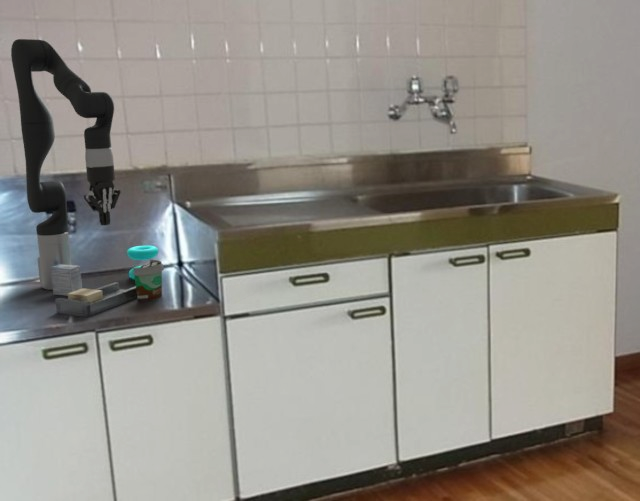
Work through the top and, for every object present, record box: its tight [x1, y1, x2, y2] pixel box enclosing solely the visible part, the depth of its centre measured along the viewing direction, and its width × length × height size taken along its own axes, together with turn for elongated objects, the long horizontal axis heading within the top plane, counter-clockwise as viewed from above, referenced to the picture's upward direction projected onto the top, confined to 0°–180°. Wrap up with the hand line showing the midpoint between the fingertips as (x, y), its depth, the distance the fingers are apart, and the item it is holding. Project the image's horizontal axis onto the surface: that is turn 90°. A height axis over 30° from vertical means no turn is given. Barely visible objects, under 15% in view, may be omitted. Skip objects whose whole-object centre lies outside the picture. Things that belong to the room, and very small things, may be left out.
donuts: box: [126, 244, 159, 281], centre depth 241 cm, size 10×10×10 cm
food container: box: [133, 259, 165, 302], centre depth 217 cm, size 12×6×10 cm, turn 168°
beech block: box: [67, 287, 103, 303], centre depth 206 cm, size 7×6×4 cm
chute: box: [55, 281, 138, 318], centre depth 212 cm, size 11×24×4 cm, turn 154°
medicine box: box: [51, 264, 83, 297], centre depth 223 cm, size 8×4×9 cm, turn 65°
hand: (105, 224), depth 212 cm, fingers closed
